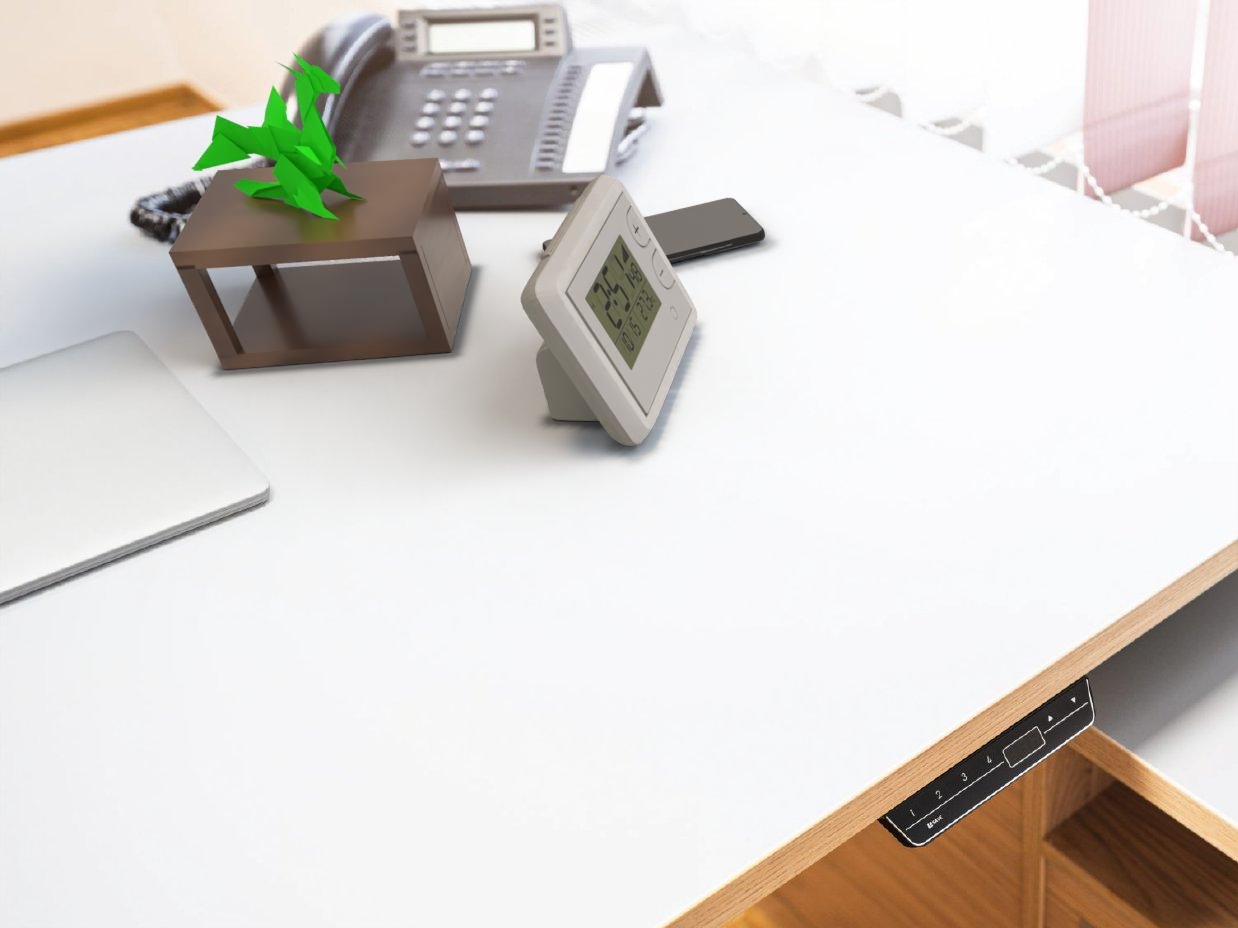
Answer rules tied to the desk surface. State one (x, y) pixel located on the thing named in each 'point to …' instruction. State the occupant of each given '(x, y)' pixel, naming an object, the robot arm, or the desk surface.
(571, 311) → the digital clock
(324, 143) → the figurine
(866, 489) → the desk surface
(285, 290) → the stand
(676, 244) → the smartphone
